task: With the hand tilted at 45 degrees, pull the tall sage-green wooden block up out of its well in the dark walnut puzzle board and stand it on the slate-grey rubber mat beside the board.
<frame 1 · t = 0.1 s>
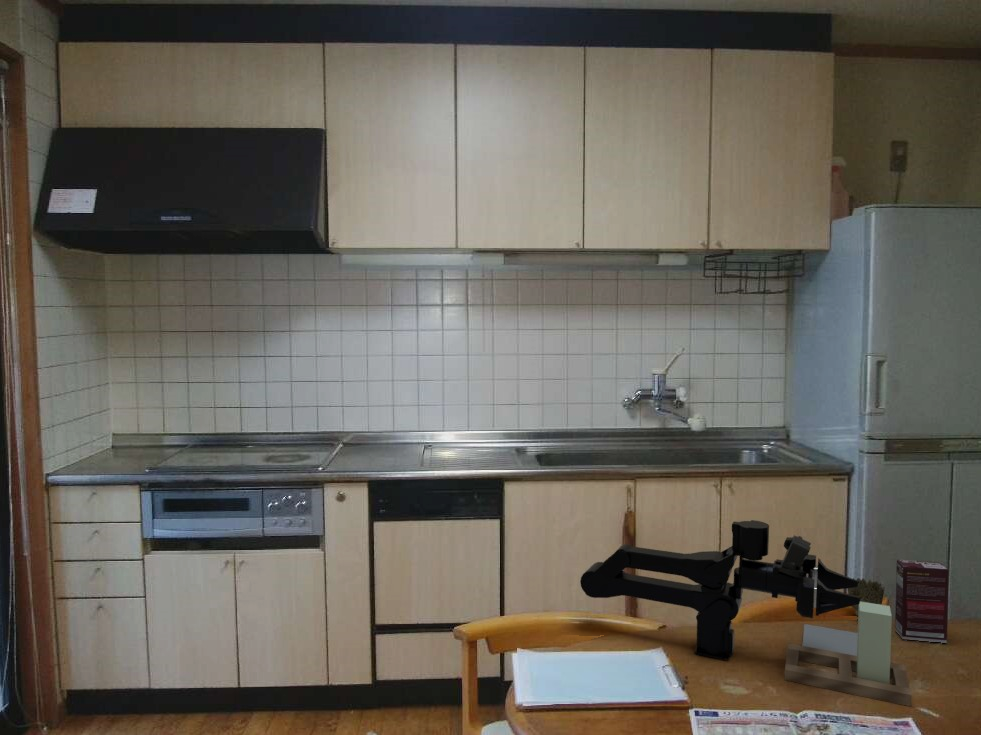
hand: (858, 592, 127), 17 cm above the table, tool horizontal, fingers open, 9 cm apart
dark olive textured piece: (864, 619, 155), on the table
supplement box: (919, 638, 145), on the table
puzzle board: (844, 677, 128), on the table
grey mat: (835, 645, 141), on the table
sage block: (872, 683, 126), resting in puzzle board
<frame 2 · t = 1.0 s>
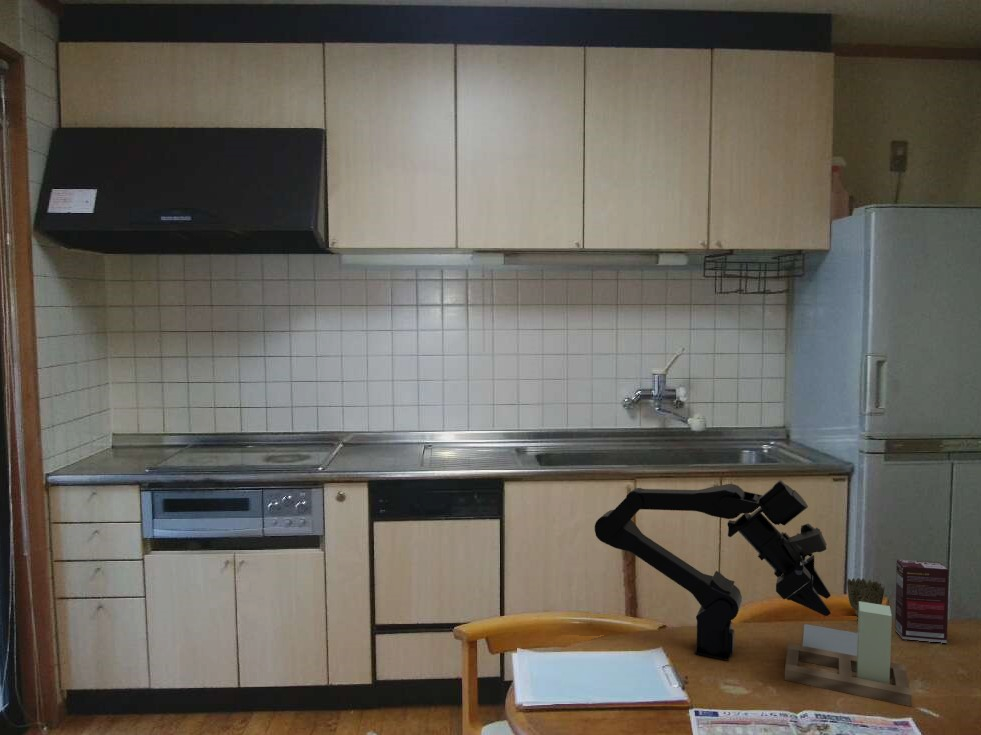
hand: (828, 605, 129), 13 cm above the table, tool tilted 45°, fingers open, 9 cm apart
nothing on the table moved.
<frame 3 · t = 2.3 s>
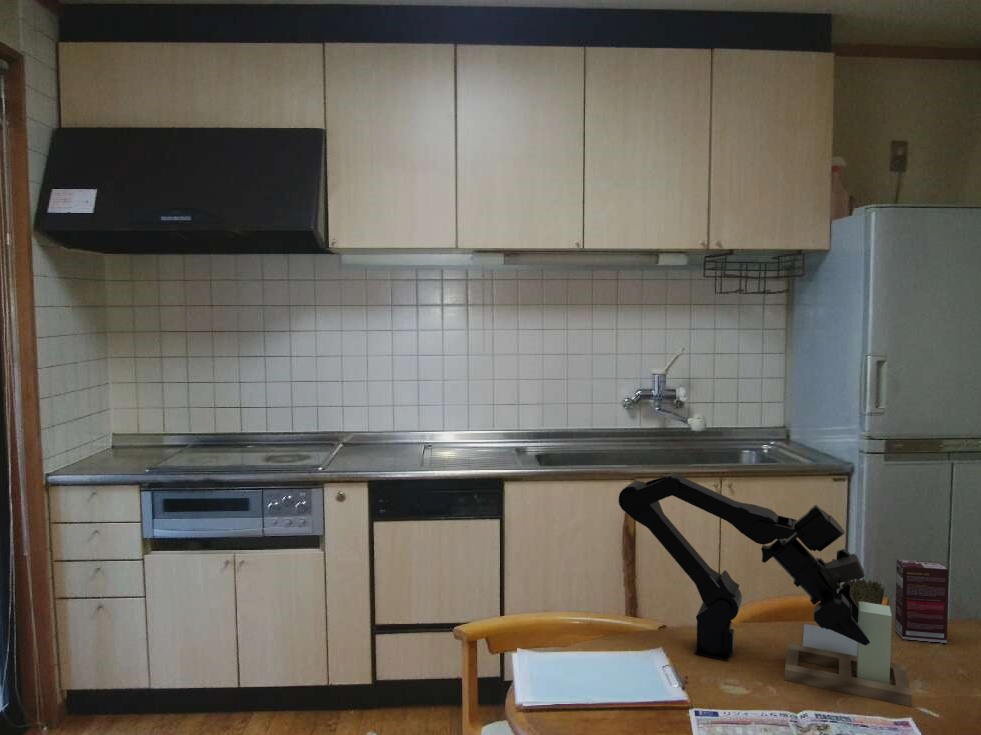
hand: (866, 633, 126), 9 cm above the table, tool tilted 45°, fingers open, 9 cm apart
nothing on the table moved.
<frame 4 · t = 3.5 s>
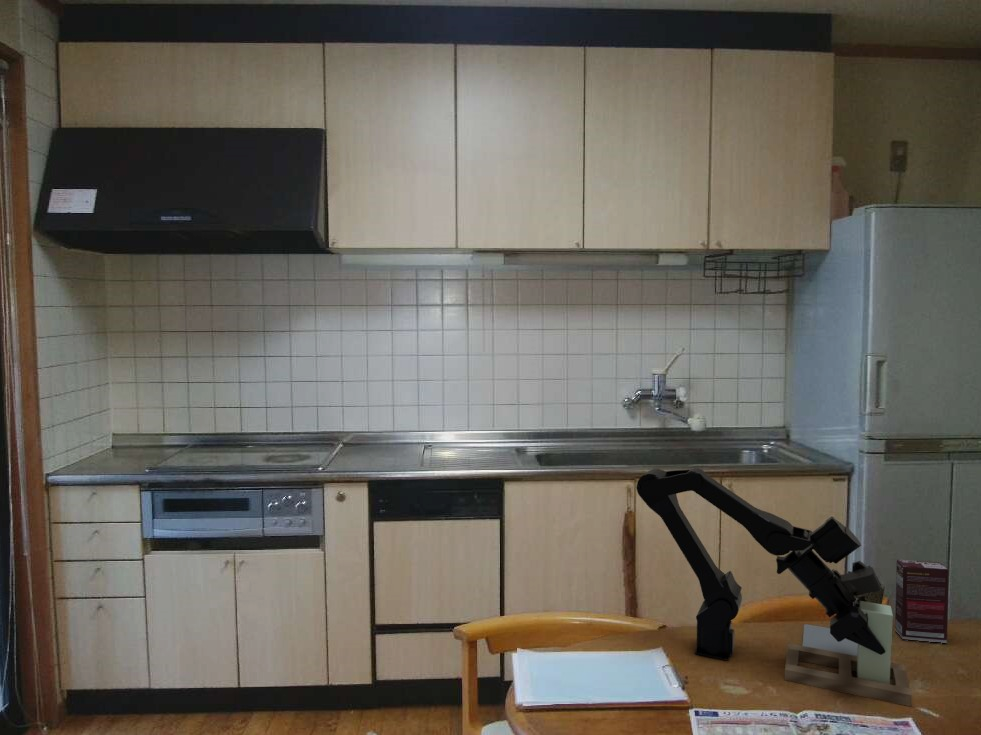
hand: (882, 646, 125), 7 cm above the table, tool tilted 45°, fingers closed on sage block, 5 cm apart
sage block: (872, 682, 126), resting in puzzle board, touching gripper
everything else where it was.
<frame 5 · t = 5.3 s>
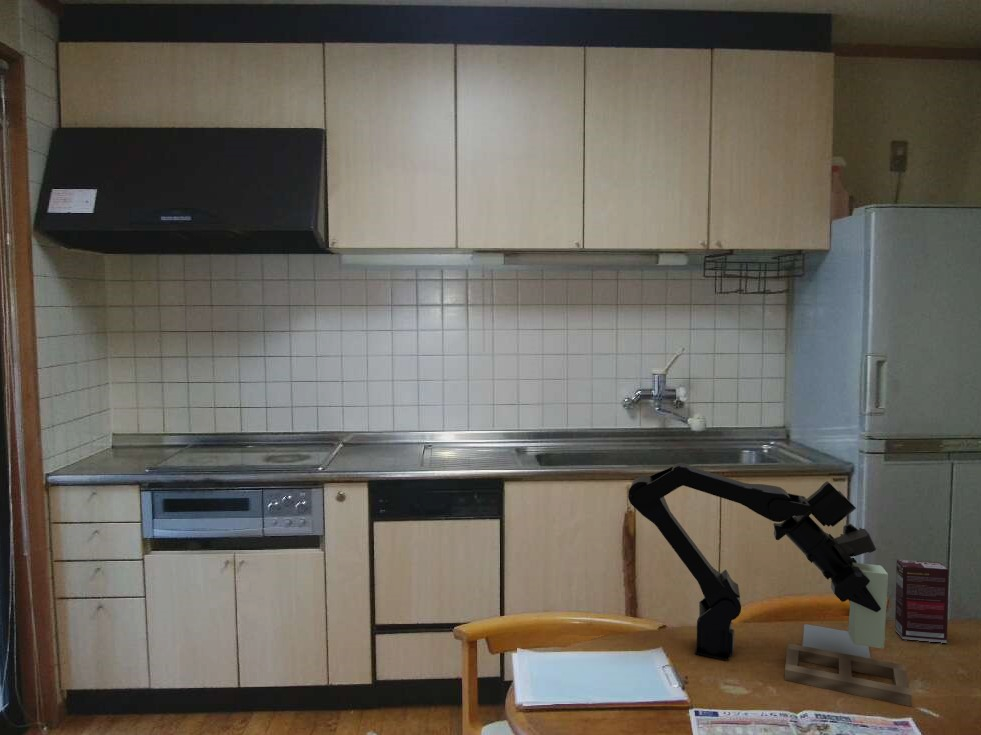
hand: (875, 604, 130), 13 cm above the table, tool tilted 45°, fingers closed on sage block, 5 cm apart
sage block: (865, 640, 130), point 6 cm above the table, touching gripper
everything else where it was.
when the fingers open (9 cm above the table, at t = 7.2 s): sage block drops 1 cm, resting on grey mat.
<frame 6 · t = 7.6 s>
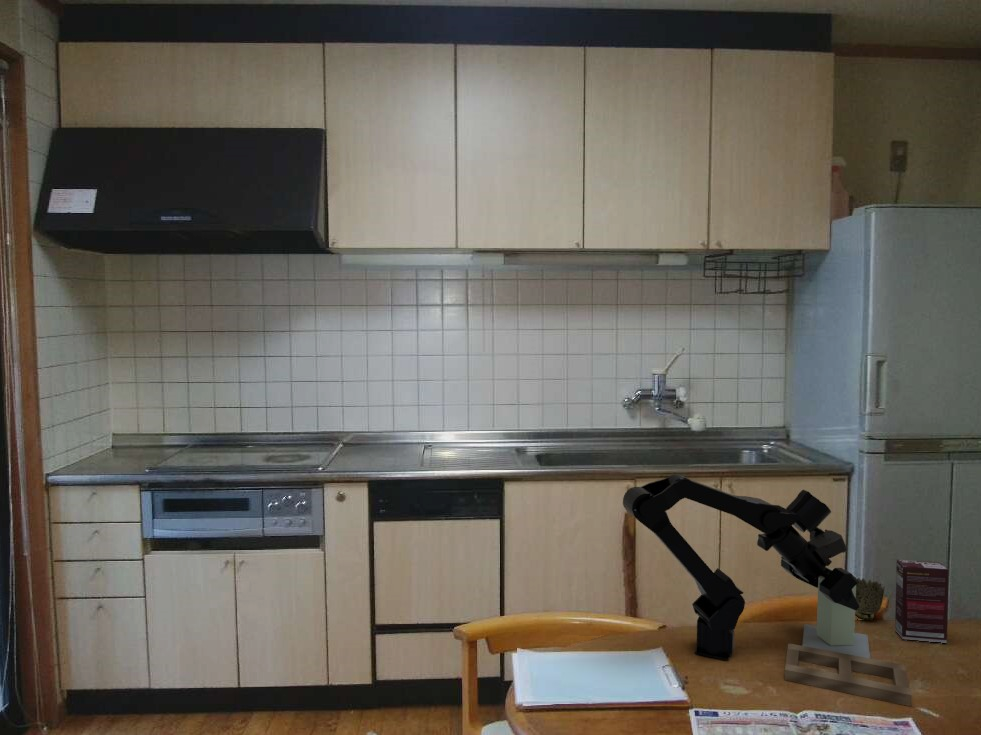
hand: (843, 599, 141), 10 cm above the table, tool tilted 45°, fingers open, 9 cm apart
sage block: (834, 639, 141), point 1 cm above the table, touching grey mat
everything else where it was.
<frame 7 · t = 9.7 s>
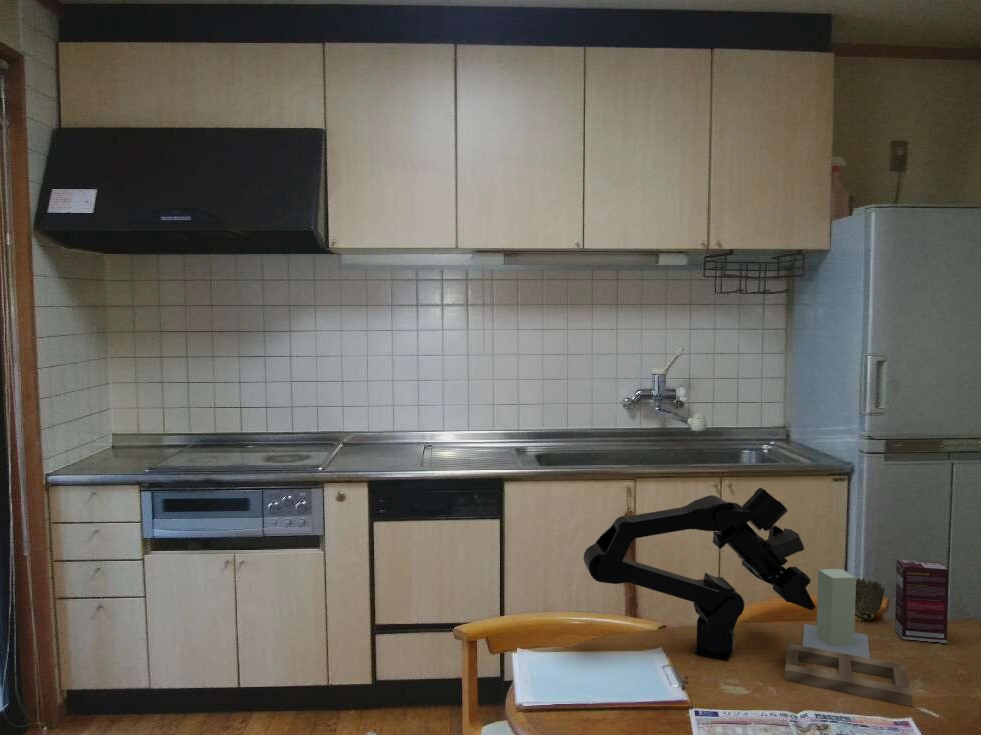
hand: (801, 599, 139), 10 cm above the table, tool tilted 45°, fingers open, 9 cm apart
nothing on the table moved.
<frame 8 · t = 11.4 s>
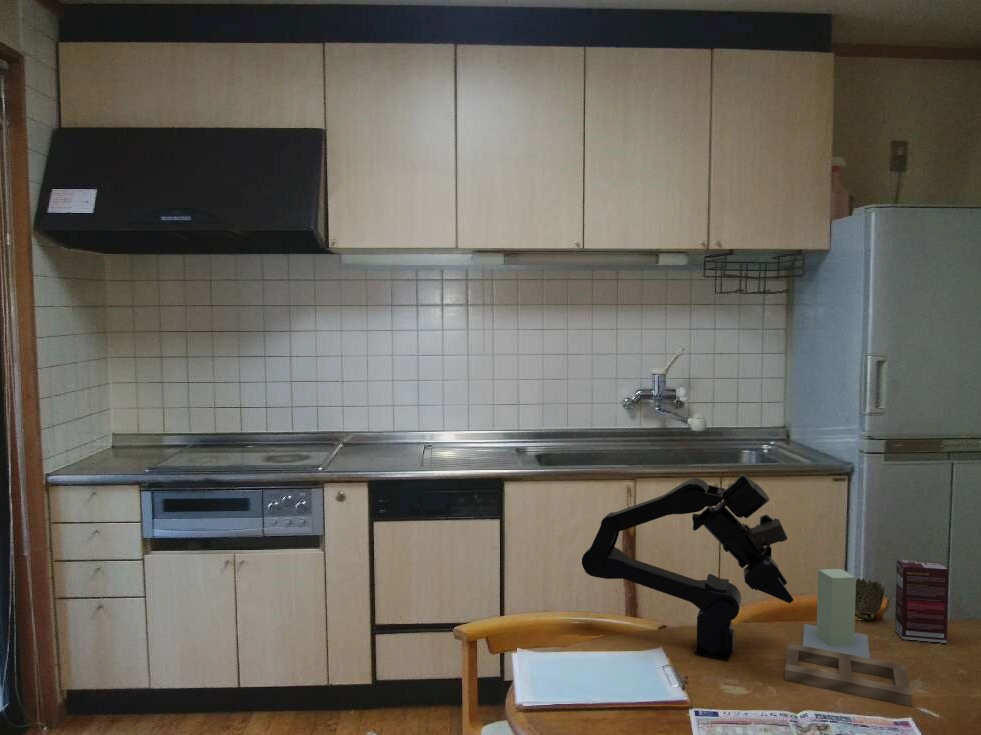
hand: (788, 592, 134), 14 cm above the table, tool tilted 45°, fingers open, 9 cm apart
nothing on the table moved.
at the end: sage block inside the target area on the grey mat (0.1 cm from its centre), point 1.0 cm above the grey mat's base; sage block tilted 0°; the gripper is holding nothing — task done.
